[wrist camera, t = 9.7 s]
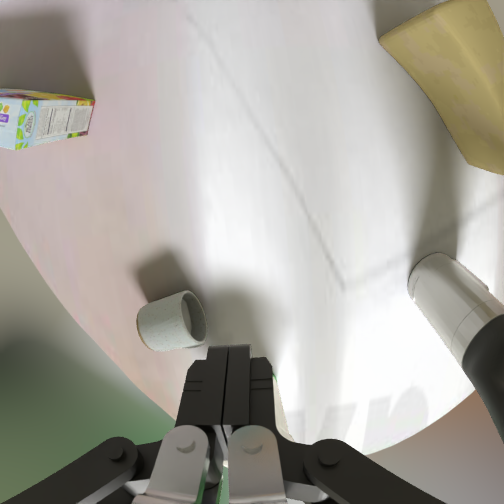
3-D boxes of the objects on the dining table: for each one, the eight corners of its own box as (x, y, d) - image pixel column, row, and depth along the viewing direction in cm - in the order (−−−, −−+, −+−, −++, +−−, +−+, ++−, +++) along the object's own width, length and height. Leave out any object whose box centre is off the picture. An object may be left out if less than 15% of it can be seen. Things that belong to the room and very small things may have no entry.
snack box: (-7, 120, 32) (-73, 132, 18) (0, 87, 29) (-67, 90, 16) (87, 138, 34) (14, 153, 20) (97, 98, 32) (25, 93, 18)
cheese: (488, 148, 34) (558, 168, 20) (450, 178, 36) (520, 208, 22) (421, 17, 27) (484, -12, 13) (373, 39, 29) (432, 5, 15)
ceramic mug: (141, 297, 44) (125, 328, 37) (187, 279, 42) (176, 311, 35) (176, 347, 48) (167, 381, 41) (220, 334, 46) (216, 369, 39)
